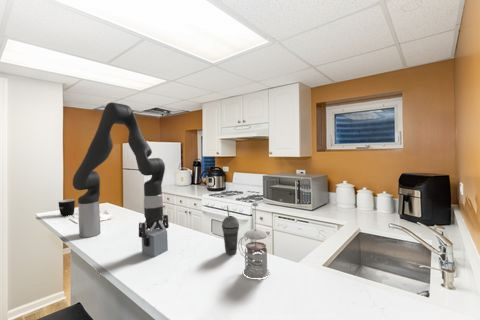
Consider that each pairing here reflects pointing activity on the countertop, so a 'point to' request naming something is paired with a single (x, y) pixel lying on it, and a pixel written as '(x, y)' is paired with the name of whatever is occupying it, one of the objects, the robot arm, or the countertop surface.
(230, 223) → the beverage cup
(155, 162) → the robot arm
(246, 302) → the countertop surface
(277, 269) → the countertop surface
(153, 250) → the grey square block
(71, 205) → the mug
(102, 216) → the tray
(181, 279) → the countertop surface
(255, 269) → the french press
